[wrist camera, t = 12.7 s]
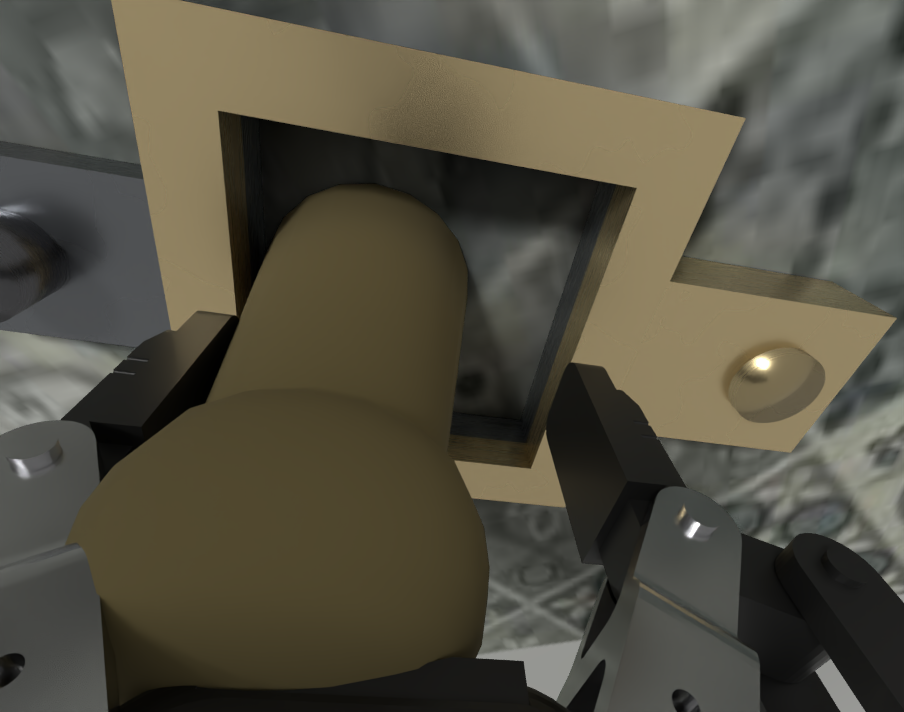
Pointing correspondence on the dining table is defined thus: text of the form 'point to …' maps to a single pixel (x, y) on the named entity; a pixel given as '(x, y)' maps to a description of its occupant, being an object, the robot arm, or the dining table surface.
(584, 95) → the chain end
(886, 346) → the dining table surface
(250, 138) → the chain end
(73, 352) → the dining table surface
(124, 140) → the dining table surface
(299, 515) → the brown rounded peg
